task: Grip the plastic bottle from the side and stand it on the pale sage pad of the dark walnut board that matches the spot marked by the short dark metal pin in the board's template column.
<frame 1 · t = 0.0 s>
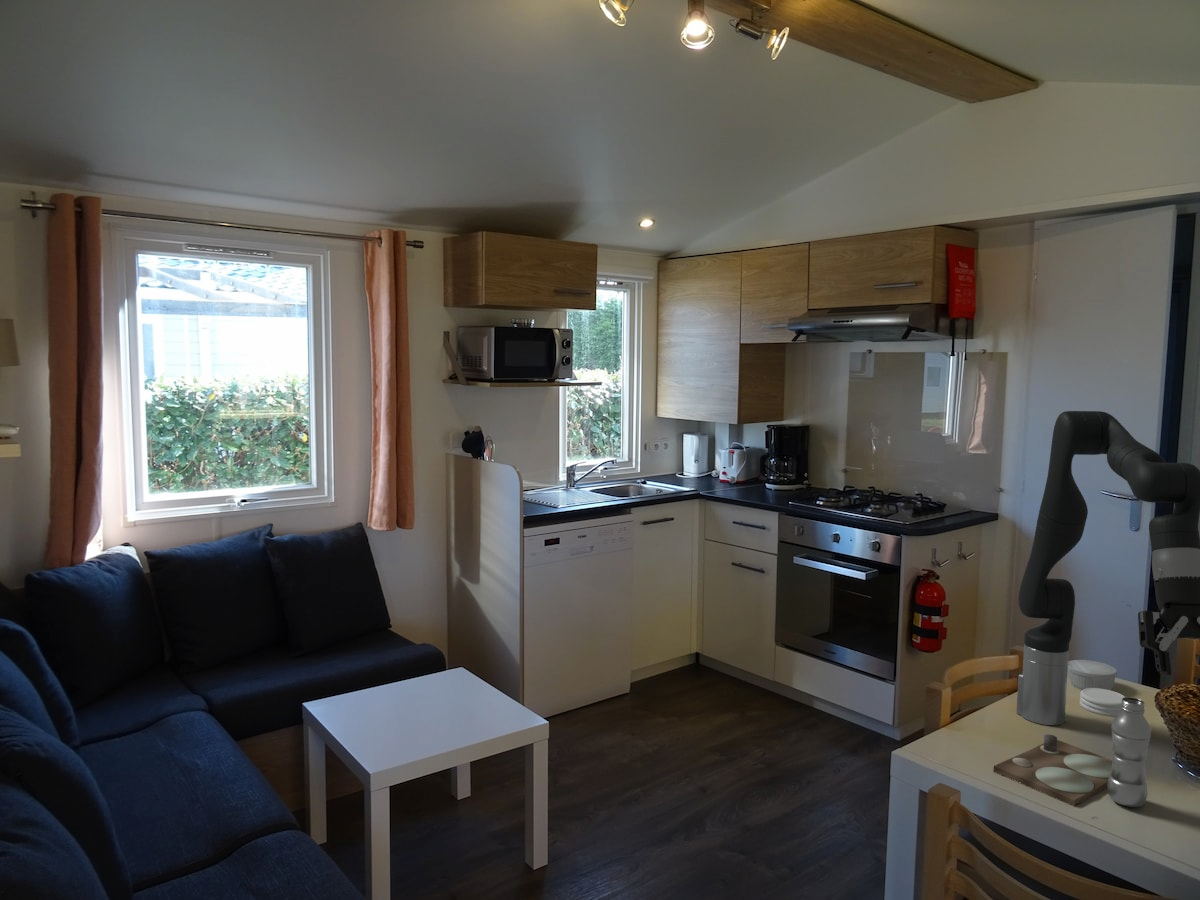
hand: (1193, 676, 136), 31 cm above the table, tool tilted 20°, fingers open, 8 cm apart
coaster: (1103, 709, 201), on the table
plastic bottle: (1126, 803, 157), on the table
layout board: (1063, 772, 169), on the table
ramekin: (1090, 687, 215), on the table
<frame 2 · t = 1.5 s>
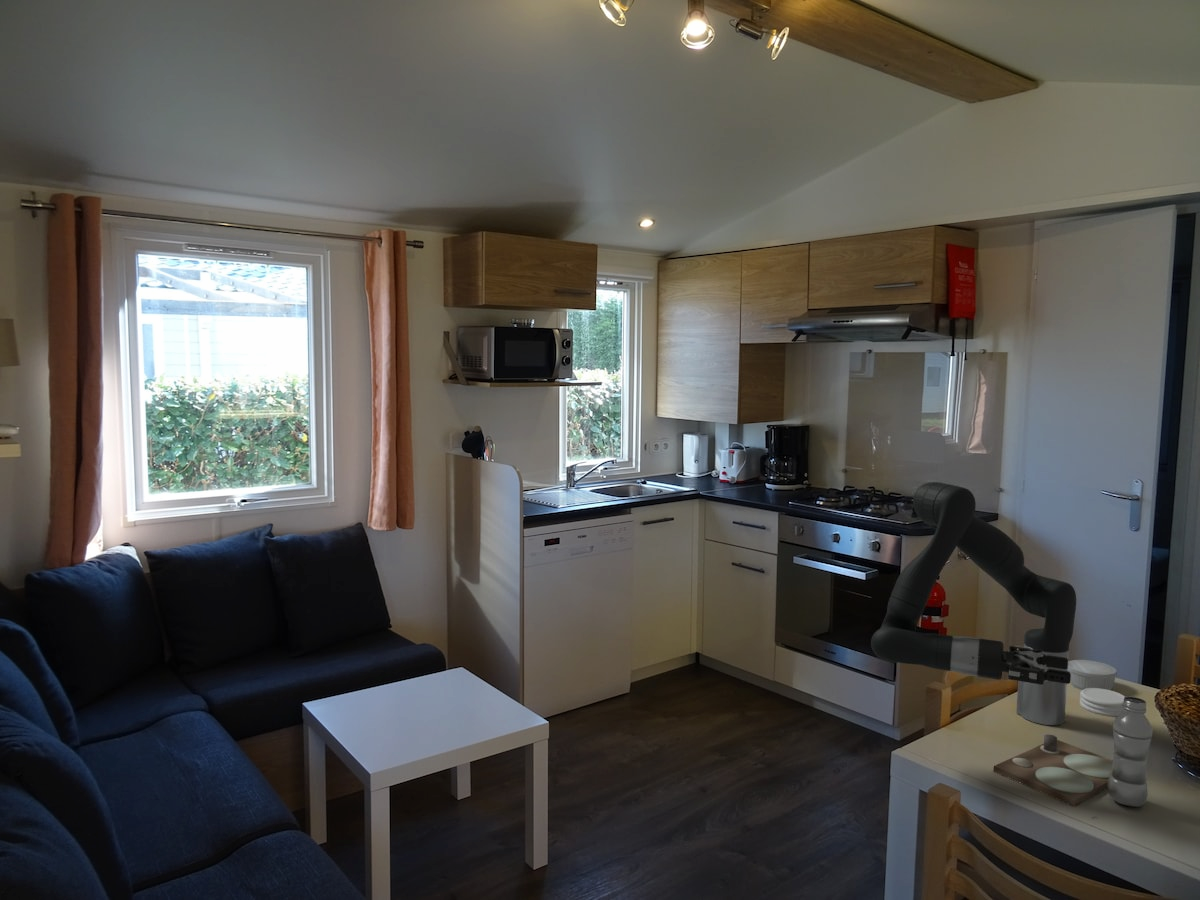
hand: (1069, 670, 160), 24 cm above the table, tool horizontal, fingers open, 8 cm apart
nothing on the table moved.
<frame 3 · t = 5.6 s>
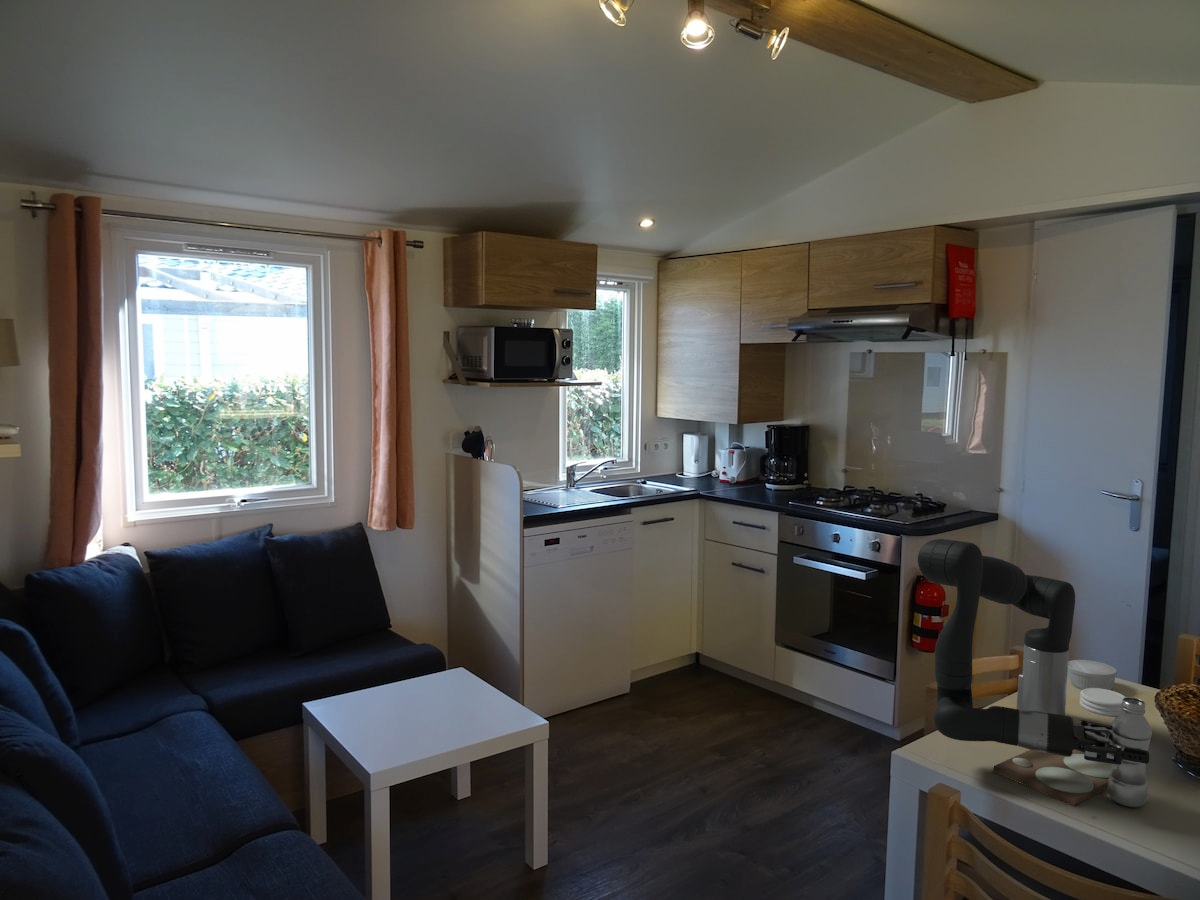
hand: (1146, 749, 155), 11 cm above the table, tool horizontal, fingers closed on plastic bottle, 6 cm apart
plastic bottle: (1126, 803, 157), on the table, touching gripper
everything else where it was.
when the fingers open (14 cm above the table, at t = 9.7 s): plastic bottle drops 1 cm, resting on layout board.
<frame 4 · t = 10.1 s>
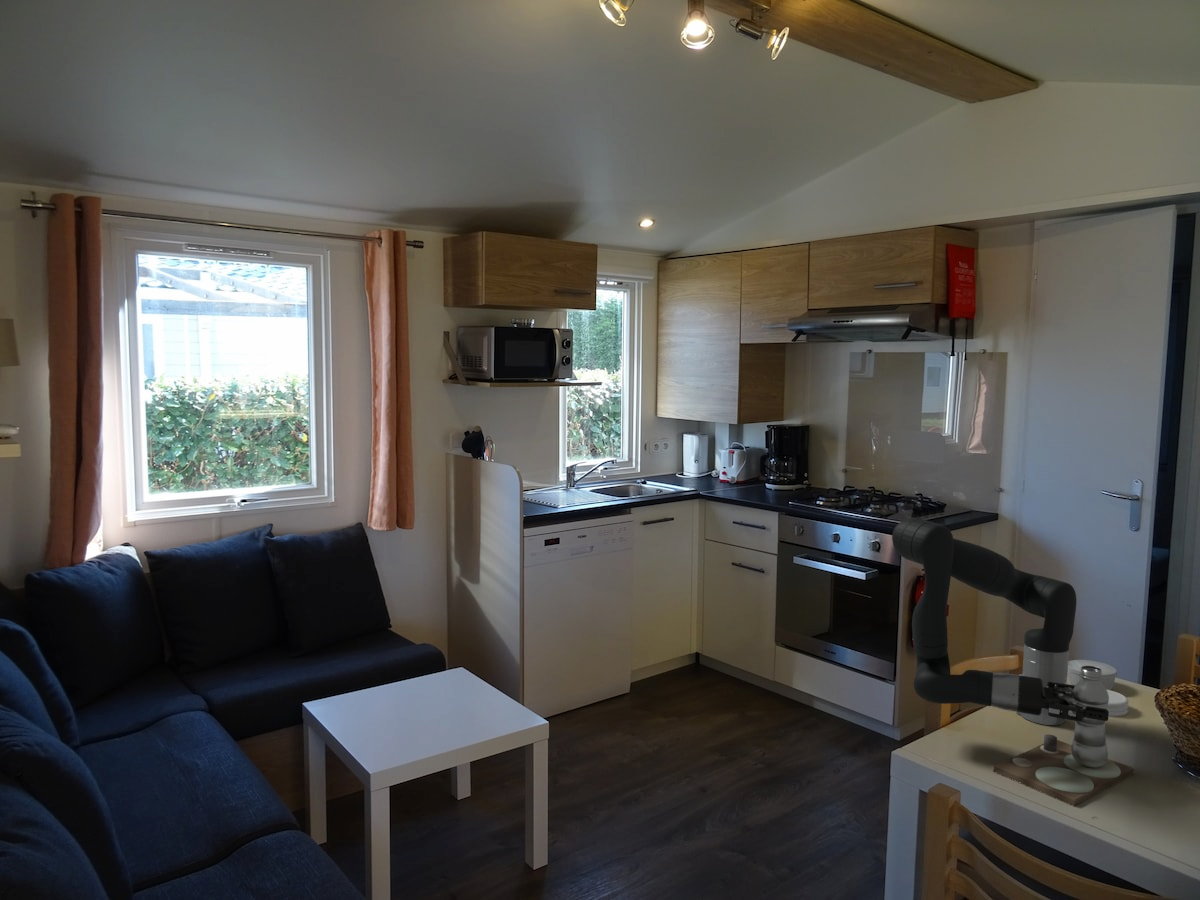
hand: (1106, 707, 167), 14 cm above the table, tool horizontal, fingers open, 8 cm apart
plastic bottle: (1089, 765, 169), point 1 cm above the table, touching layout board
everything else where it was.
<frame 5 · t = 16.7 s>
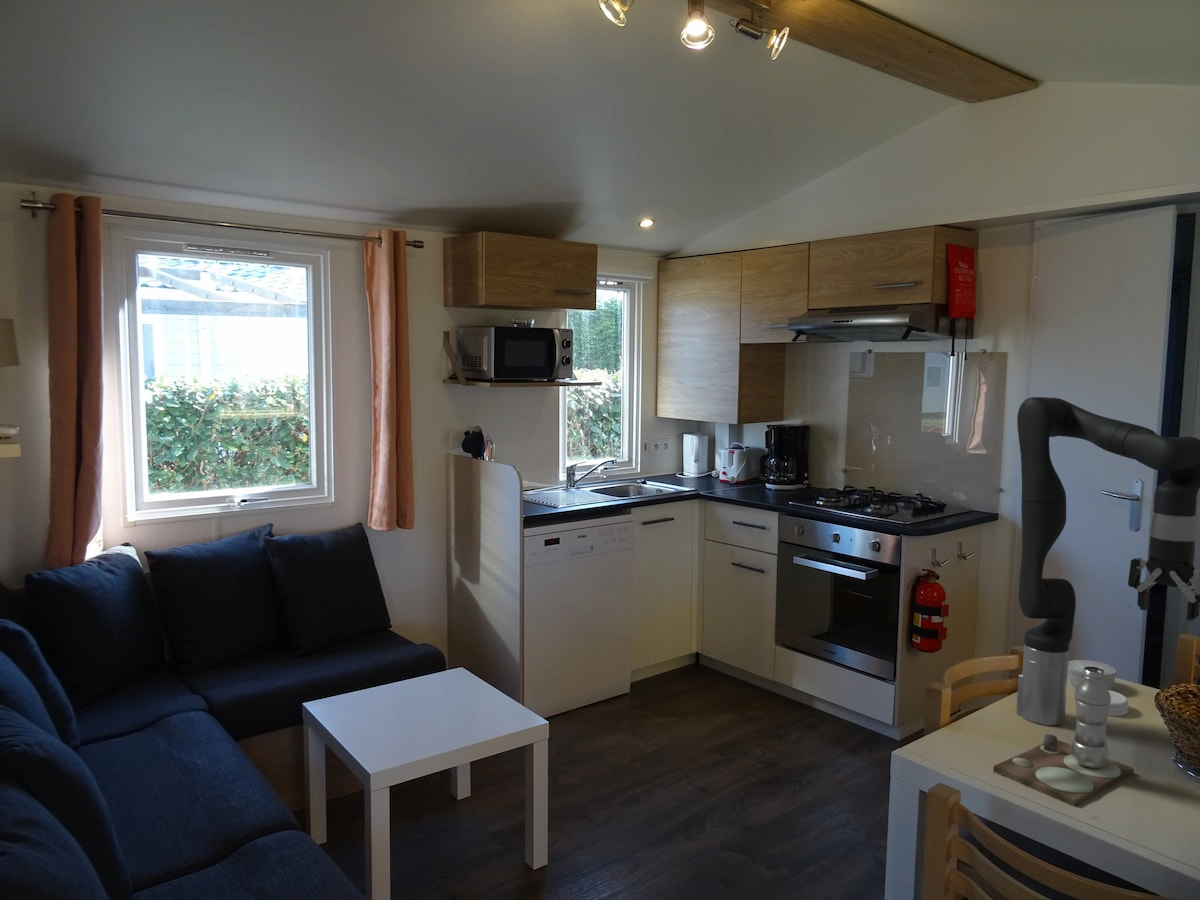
hand: (1167, 614, 169), 32 cm above the table, tool pointing down, fingers open, 8 cm apart
nothing on the table moved.
at the end: plastic bottle 0.4 cm from the target spot, point 1.3 cm above the table; plastic bottle tilted 1°; the gripper is holding nothing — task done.
